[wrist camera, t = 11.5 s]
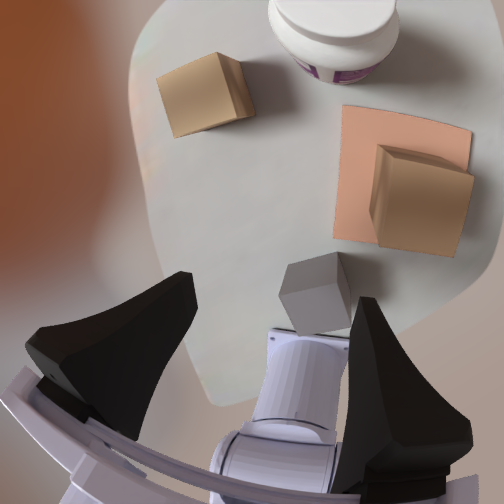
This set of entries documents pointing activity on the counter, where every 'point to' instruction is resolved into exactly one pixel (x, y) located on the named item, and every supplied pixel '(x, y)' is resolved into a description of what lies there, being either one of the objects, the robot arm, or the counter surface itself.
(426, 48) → the counter surface
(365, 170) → the terracotta coaster
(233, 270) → the counter surface
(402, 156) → the walnut block
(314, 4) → the pill bottle
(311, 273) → the gray block
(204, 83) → the oak block
